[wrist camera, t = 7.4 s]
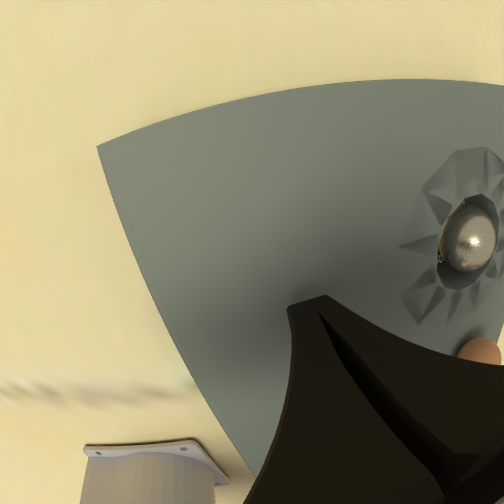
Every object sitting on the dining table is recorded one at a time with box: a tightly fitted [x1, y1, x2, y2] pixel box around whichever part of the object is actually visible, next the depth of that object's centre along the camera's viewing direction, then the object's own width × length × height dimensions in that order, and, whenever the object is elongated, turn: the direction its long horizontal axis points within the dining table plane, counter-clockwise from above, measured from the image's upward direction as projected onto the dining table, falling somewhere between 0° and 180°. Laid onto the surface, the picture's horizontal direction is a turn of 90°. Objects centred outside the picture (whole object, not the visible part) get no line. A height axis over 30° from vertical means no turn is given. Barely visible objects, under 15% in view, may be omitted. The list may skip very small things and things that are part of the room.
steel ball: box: [438, 204, 496, 271], centre depth 11 cm, size 3×3×3 cm
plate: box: [96, 79, 504, 477], centre depth 13 cm, size 18×20×2 cm
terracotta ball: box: [457, 337, 501, 365], centre depth 12 cm, size 3×3×3 cm
